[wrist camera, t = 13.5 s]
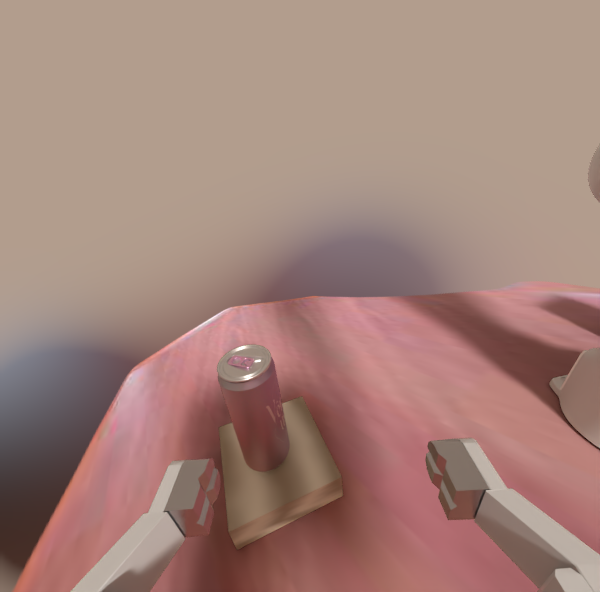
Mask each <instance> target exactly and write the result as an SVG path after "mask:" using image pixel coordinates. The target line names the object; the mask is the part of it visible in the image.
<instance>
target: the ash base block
mask: <svg viewBox="0 0 600 592" xmlns="http://www.w3.org/2000/svg"><path fill="white" fill-rule="evenodd" d="M282 406H283V411H284V416H285V421H286V426H287V432H288V437H289V442H290V447H289V452H288V455H287V457H286V458H285V460H284V461H283V462H282V464H281V465H279V466H278V467H277V468H275V469H273V470H271V471H267V472H259V471H255V470H253V469H251V468H250V467H249V466H248V465H247V464H246V462H245V460H244V457H243V454H242V451H241V448H240V445H239V442H238V439H237V436H236V433H235V430H234V427H233V424H232V423H229V424H226V425H224V426H221V427H219V436H220V447H221V457H222V468H223V479H224V490H225V500H226V511H227V522H228V532H229V534H230V536H231V539H232V541H233V543H234V545H235V547H236V549H237V550H238V549H240V548H242V547H244V546H246V545H248V544H250V543H252V542H253V541H255V540H257V539H259V538H261V537H263V536H265V535H267V534H269V533H271V532H273V531H275V530H277V529H279V528H281V527H283V526H285V525H287V524H289V523H291V522H293V521H295V520H297V519H299V518H301V517H302V516H304V515H306V514H308V513H310V512H312V511H314V510H316V509H318V508H320V507H322V506H324V505H326V504H328V503H330V502H332V501H334V500H336V499H338V498H340V497H342V496H343V488H342V476H341V474H340V472H339V470H338V468H337V466H336V464H335V462H334V460H333V458H332V456H331V454H330V452H329V450H328V448H327V446H326V444H325V442H324V440H323V438H322V436H321V434H320V432H319V430H318V428H317V426H316V423H315V421H314V419H313V417H312V415H311V413H310V411H309V409H308V407H307V405H306V403H305V401H304V399H303V397H302V396H301V397H298V398H296V399H293V400H290V401H288V402H285V403H282Z"/></svg>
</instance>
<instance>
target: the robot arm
mask: <svg viewBox="0 0 600 592" xmlns="http://www.w3.org/2000/svg"><path fill="white" fill-rule="evenodd" d="M588 181H589V186H590V189H591V191H592V193H593V195H594V196H595V198H596V199H597V200H598V201H599V202H600V145H599V146H598V148H597V150H596V151H595V153H594V155H593V157H592V160H591V163H590V166H589V172H588ZM549 385H550V387H551V388H552V389H553V391H554V392H555V393H556V394H557V395H558V397H559V400H560V406H561V409H562V411H563V413H564V415H565V417H566V418H567V420H568V421H569V422H570V423H571V425H572V426H573V427H574V428H575V429H576V430H577V431H578V432H579V433H581V434H582V435H583V436H584V437H585V438H586V439H588V440H589V441H590V442H592V443H593V444H594V445H596V446H597V447H599V448H600V348H593V349H590V350H584V351H583V352H582V353H581V354H580V355H579V357H578V359H577V360H576V362H575V364H574V365H573V367H572V369H571V371H570V372H569V374H568V375H564V376H559V377H555V378H552V380H551V381H550V383H549ZM428 449H429V451H430V452H428V453H427V454H426V466H427V470H428V473H429V476H430V479H431V481H432V483H433V484H434V485H435V486H436V487H437V488H438V489H440V491H439V496H438V498H439V500H440V502H441V505H442V507H443V509H444V512H445V514H446V516H447V519H448V520H466V519H475V520H474V521H475V522H476V523H477V524H478V525H479V526H480V527H481V529H482V530H483V531H484V532H485V533H486V534H487V535H488V536H489V537H490V538H491V539H492V540H493V541H494V542H495V543H496V544H497V545H498V546H499V547H500V548H501V549H502V551H503V552H504V553H505V554H506V555H507V556H508V557H509V558H510V559H511V560H512V561H513V562H514V563H515V564H516V565H517V566H518V567H519V568H520V569H521V570H522V571H523V572H524V574H525V575H526V576H527V577H528V578H529V579H530V580H531V581H532V582H533V583H534V584H535V585H536V586H537V587H538V588H539V590H538V591H537V592H600V555H599V554H598V553H596V552H595V551H594V550H592V549H591V548H590V547H588V546H587V545H586V544H584V543H583V542H582V541H581V540H579V539H578V538H577V537H575V536H574V535H573V534H571V533H570V532H569V531H567V530H566V529H565V528H563V527H562V526H561V525H560V524H558V523H557V522H556V521H554V520H553V519H552V518H550V517H549V516H548V515H546V514H545V513H544V512H542V511H541V510H540V509H539V508H537V507H536V506H535V505H533V504H532V503H531V502H529V501H528V500H527V499H525V498H524V497H523V496H521V495H520V494H519V493H518V492H516V491H515V490H514V489H512V488H509V489H507V487H506V485H505V484H504V482H503V481H502V479H501V478H500V476H499V475H498V473H497V472H496V470H495V469H494V467H493V466H492V464H491V463H490V461H489V459H488V458H487V456H486V455H485V453H484V452H483V450H482V449H481V447H480V446H479V444H478V443H477V441H476V440H475V439H473V438H459V439H446V440H436V441H430V442H428ZM214 465H215V462H214V460H213V458H207V459H194V460H179V461H172V462H171V464H170V465H169V466H168V468H167V470H166V473H165V475H164V477H163V479H162V482H161V484H160V486H159V489H158V491H157V493H156V496H155V498H154V500H153V502H152V505H151V507H150V509H149V512H148V513H144V514H143V515H142V516H141V517H140V518H139V519H138V520H137V521H136V522H135V523H134V524H133V525H132V527H131V528H130V529H129V530H128V531H127V532H126V533H125V534H124V535H123V536H122V537H121V538H120V539H119V540H118V541H117V543H116V544H115V545H114V546H113V547H112V548H111V549H110V550H109V551H108V552H107V553H106V554H105V555H104V556H103V557H102V558H101V560H100V561H99V562H98V563H97V564H96V565H95V566H94V567H93V568H92V569H91V570H90V571H89V572H88V573H87V574H86V576H85V577H84V578H83V579H82V580H81V581H80V582H79V583H78V584H77V585H76V586H75V587H74V588H73V589H72V590H71V591H70V592H150V591H151V589H152V588H153V586H154V585H155V583H156V582H157V580H158V579H159V577H160V576H161V574H162V573H163V571H164V570H165V569H166V567H167V566H168V564H169V563H170V561H171V560H172V558H173V557H174V555H175V554H176V552H177V551H178V549H179V548H180V546H181V545H182V543H183V542H184V541H185V537H194V536H204V535H209V532H210V528H211V524H212V520H213V516H214V510H213V507H212V505H213V503H214V502H215V501H216V500H217V498H218V495H219V490H220V481H221V479H220V473H219V471H218V470H217V469H216V468H214Z"/></svg>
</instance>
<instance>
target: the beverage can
mask: <svg viewBox="0 0 600 592" xmlns="http://www.w3.org/2000/svg"><path fill="white" fill-rule="evenodd" d="M217 372H218V381H219V384H220V387H221V390H222V393H223V396H224V399H225V402H226V405H227V408H228V411H229V414H230V417H231V421H232V424H233V427H234V430H235V433H236V436H237V439H238V442H239V445H240V448H241V451H242V454H243V457H244V460H245V462H246V464H247V465H248V466H249V467H250V468H251V469H253V470H255V471H259V472H267V471H271V470H273V469H275V468H277V467H278V466H279V465H281V464H282V462H283V461H284V460H285V458H286V457H287V455H288V452H289V447H290V442H289V437H288V432H287V426H286V421H285V416H284V411H283V406H282V401H281V395H280V390H279V385H278V380H277V375H276V370H275V364H274V361H273V359H272V357H271V354H270V352H269V351H268V349H266V348H265V347H263V346H260V345H244V346H240V347H237V348H235V349H233V350H231V351H229V352H228V353H226V354H225V355H224V356H223V357H222V358H221V359H220V361H219V363H218V366H217Z"/></svg>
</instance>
